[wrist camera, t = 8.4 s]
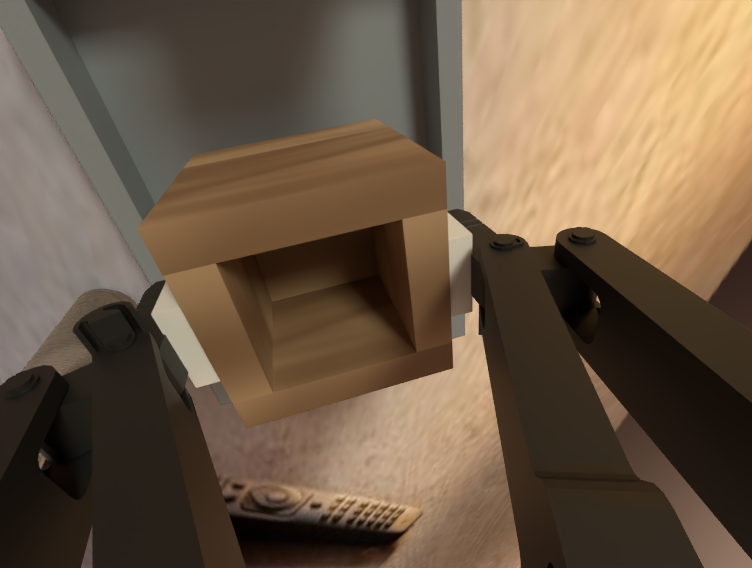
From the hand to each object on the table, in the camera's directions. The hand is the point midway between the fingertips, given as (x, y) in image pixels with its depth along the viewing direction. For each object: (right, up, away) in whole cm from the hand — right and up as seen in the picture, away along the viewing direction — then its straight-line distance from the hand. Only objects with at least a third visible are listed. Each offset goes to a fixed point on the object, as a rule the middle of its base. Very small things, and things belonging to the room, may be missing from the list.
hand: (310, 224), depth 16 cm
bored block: (0, 0, 0) cm, 0 cm away
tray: (-1, +2, +3) cm, 4 cm away
